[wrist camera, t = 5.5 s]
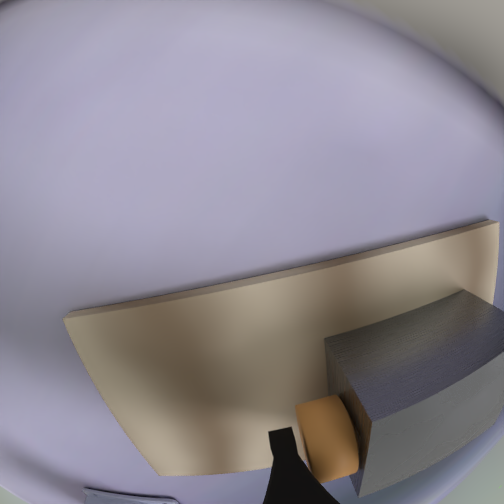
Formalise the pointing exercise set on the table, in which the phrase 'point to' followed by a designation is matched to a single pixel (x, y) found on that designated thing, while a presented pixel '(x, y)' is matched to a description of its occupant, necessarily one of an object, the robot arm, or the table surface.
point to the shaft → (328, 438)
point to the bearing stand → (310, 358)
